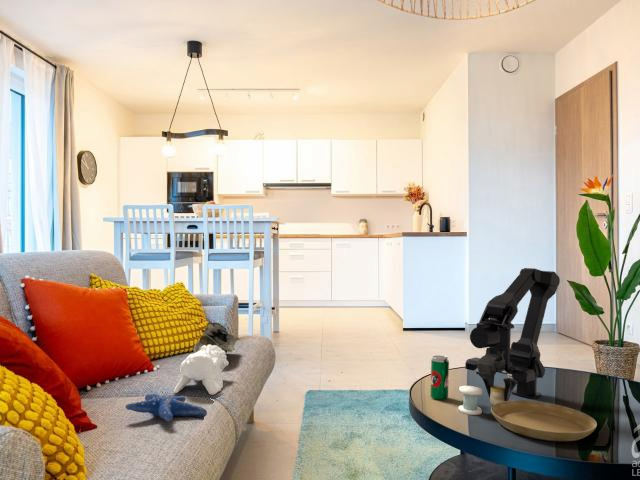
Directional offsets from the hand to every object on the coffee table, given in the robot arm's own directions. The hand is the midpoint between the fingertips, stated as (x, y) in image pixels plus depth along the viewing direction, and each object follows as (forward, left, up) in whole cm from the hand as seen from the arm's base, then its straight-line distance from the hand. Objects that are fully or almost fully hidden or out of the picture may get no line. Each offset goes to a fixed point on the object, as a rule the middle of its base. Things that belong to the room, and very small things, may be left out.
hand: (498, 399), depth 142 cm
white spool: (+13, -1, -1) cm, 13 cm away
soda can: (+10, -13, -1) cm, 16 cm away
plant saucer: (+8, +16, -2) cm, 18 cm away
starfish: (+78, -45, -1) cm, 90 cm away
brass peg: (0, 0, -1) cm, 1 cm away
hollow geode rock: (+38, -92, -1) cm, 100 cm away
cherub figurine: (+59, -63, -1) cm, 87 cm away
